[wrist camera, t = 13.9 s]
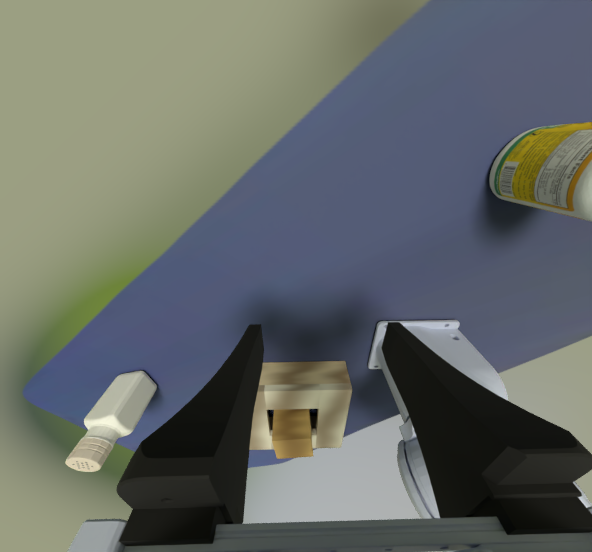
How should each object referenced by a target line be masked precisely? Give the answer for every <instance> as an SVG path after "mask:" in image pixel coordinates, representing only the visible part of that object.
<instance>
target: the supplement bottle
mask: <svg viewBox="0 0 592 552" xmlns="http://www.w3.org/2000/svg"><path fill="white" fill-rule="evenodd" d="M489 182H490V187H491V190H492V192H493V193H494V194H495V195H496V196H497V197H498V198H500V199H502V200H506V201H509V202H514V203H518V204H522V205H526V206H530V207H534V208H538V209H543V210H547V211H551V212H555V213H559V214H563V215H567V216H571V217H575V218H579V219H583V220H588V221H592V122H589V123H575V124H564V125H553V126H545V127H539V128H534V129H531V130H528V131H526V132H524V133H522V134H520V135H518V136H517V137H515V138H514V139H513V140H512V141H511V142H509V143H508V144H507V145H506V146H505V147H504V149H503V150H502V151H501V152H500V154H499V155H498V156H497V158H496V159H495V161H494V163H493V166H492V168H491V172H490V177H489Z"/></svg>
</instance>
